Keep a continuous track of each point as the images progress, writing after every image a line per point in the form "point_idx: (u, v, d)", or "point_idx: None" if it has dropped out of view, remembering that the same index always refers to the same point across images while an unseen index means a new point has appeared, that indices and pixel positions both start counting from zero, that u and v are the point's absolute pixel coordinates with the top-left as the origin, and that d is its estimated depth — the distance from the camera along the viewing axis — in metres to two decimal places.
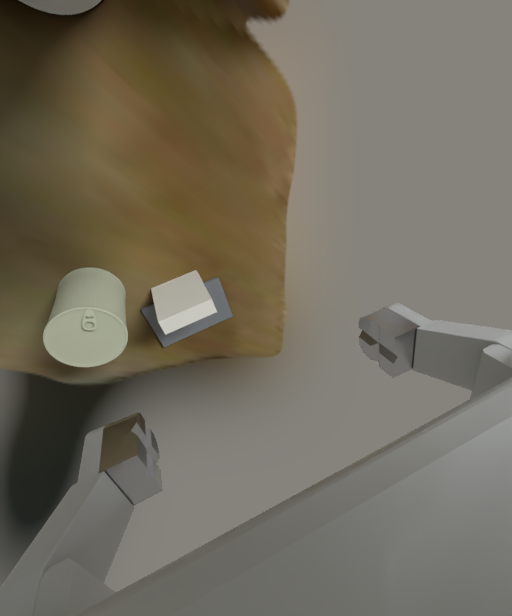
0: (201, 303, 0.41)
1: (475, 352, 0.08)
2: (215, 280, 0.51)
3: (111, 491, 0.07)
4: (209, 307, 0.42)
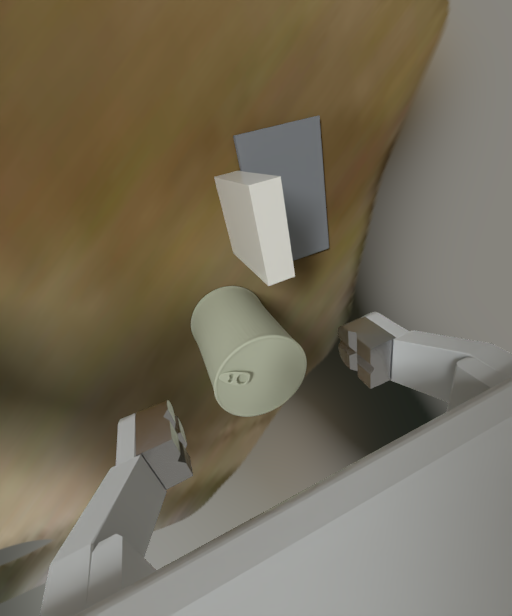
0: (253, 207, 0.21)
1: (450, 365, 0.08)
2: (238, 143, 0.27)
3: (147, 474, 0.08)
4: (266, 192, 0.21)
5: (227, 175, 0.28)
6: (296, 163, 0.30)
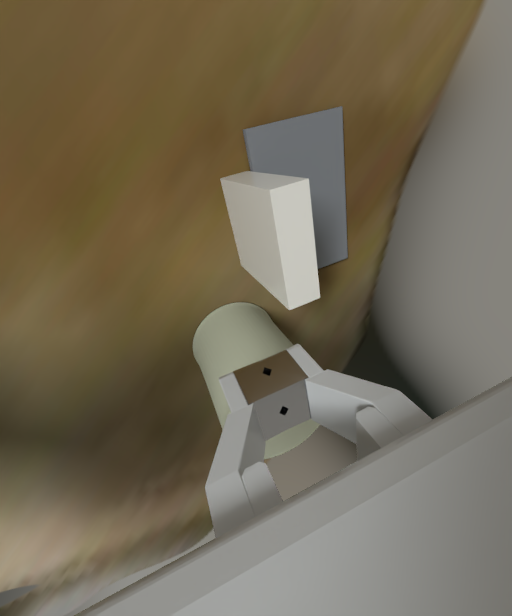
0: (274, 217, 0.17)
1: (358, 411, 0.08)
2: (249, 138, 0.23)
3: (257, 422, 0.08)
4: (290, 198, 0.17)
5: (236, 176, 0.23)
6: (314, 162, 0.26)
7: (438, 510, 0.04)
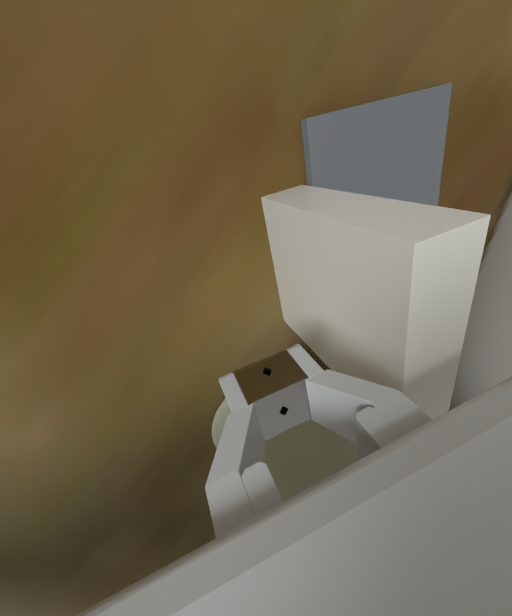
0: (411, 296, 0.08)
1: (358, 411, 0.08)
2: (311, 133, 0.14)
3: (257, 422, 0.08)
4: (448, 257, 0.08)
5: (290, 195, 0.14)
6: (402, 170, 0.17)
7: (438, 510, 0.04)
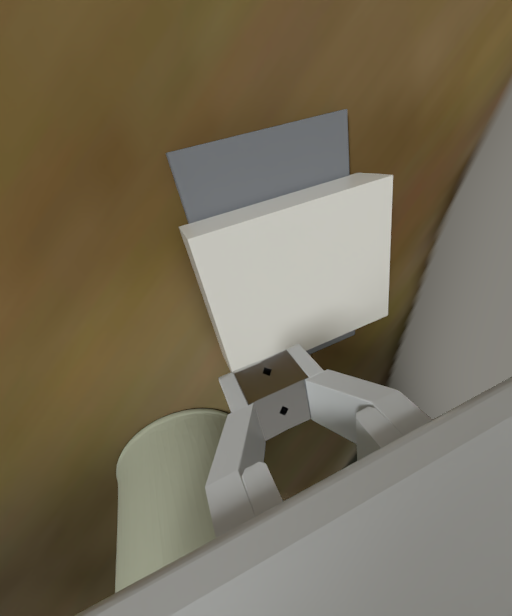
0: (391, 207, 0.14)
1: (358, 411, 0.08)
2: (177, 169, 0.13)
3: (256, 422, 0.08)
4: None
5: (217, 223, 0.13)
6: None
7: (438, 510, 0.04)
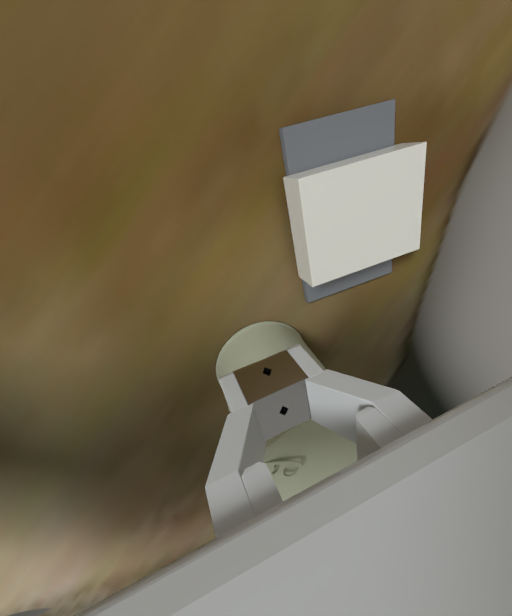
0: (424, 165, 0.21)
1: (358, 411, 0.08)
2: (286, 138, 0.20)
3: (257, 422, 0.08)
4: None
5: (312, 172, 0.20)
6: None
7: (438, 510, 0.04)
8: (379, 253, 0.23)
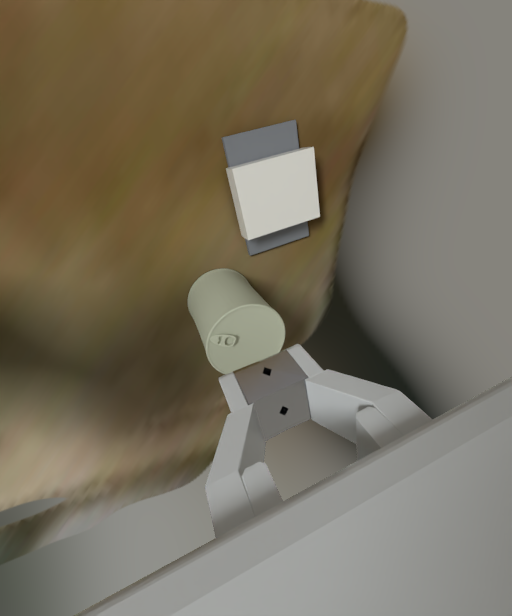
0: (314, 161, 0.34)
1: (358, 411, 0.08)
2: (226, 144, 0.32)
3: (257, 422, 0.08)
4: None
5: (242, 165, 0.32)
6: None
7: (438, 510, 0.04)
8: (292, 218, 0.36)
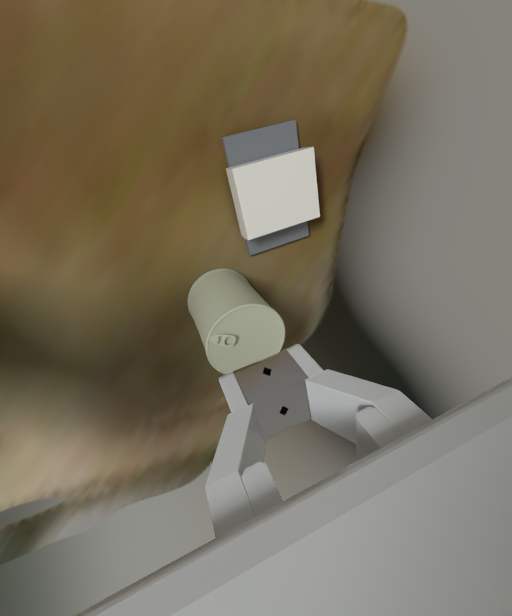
0: (314, 161, 0.34)
1: (358, 411, 0.08)
2: (226, 144, 0.32)
3: (257, 422, 0.08)
4: None
5: (242, 165, 0.32)
6: None
7: (438, 510, 0.04)
8: (292, 218, 0.36)
